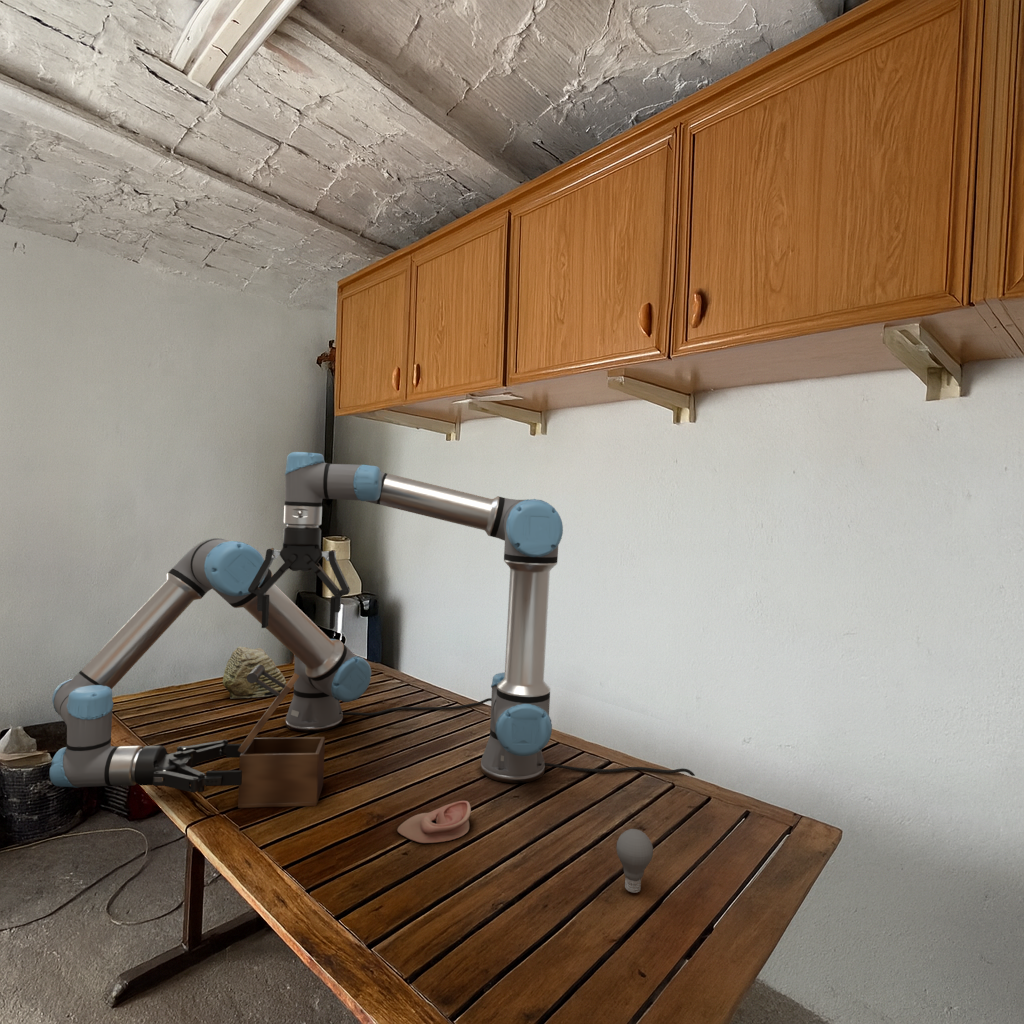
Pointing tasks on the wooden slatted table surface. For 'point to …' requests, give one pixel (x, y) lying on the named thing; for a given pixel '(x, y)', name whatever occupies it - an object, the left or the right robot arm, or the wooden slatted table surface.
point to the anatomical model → (438, 824)
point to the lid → (253, 678)
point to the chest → (282, 772)
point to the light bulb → (634, 857)
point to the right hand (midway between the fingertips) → (298, 627)
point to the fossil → (242, 665)
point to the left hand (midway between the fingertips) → (250, 763)
